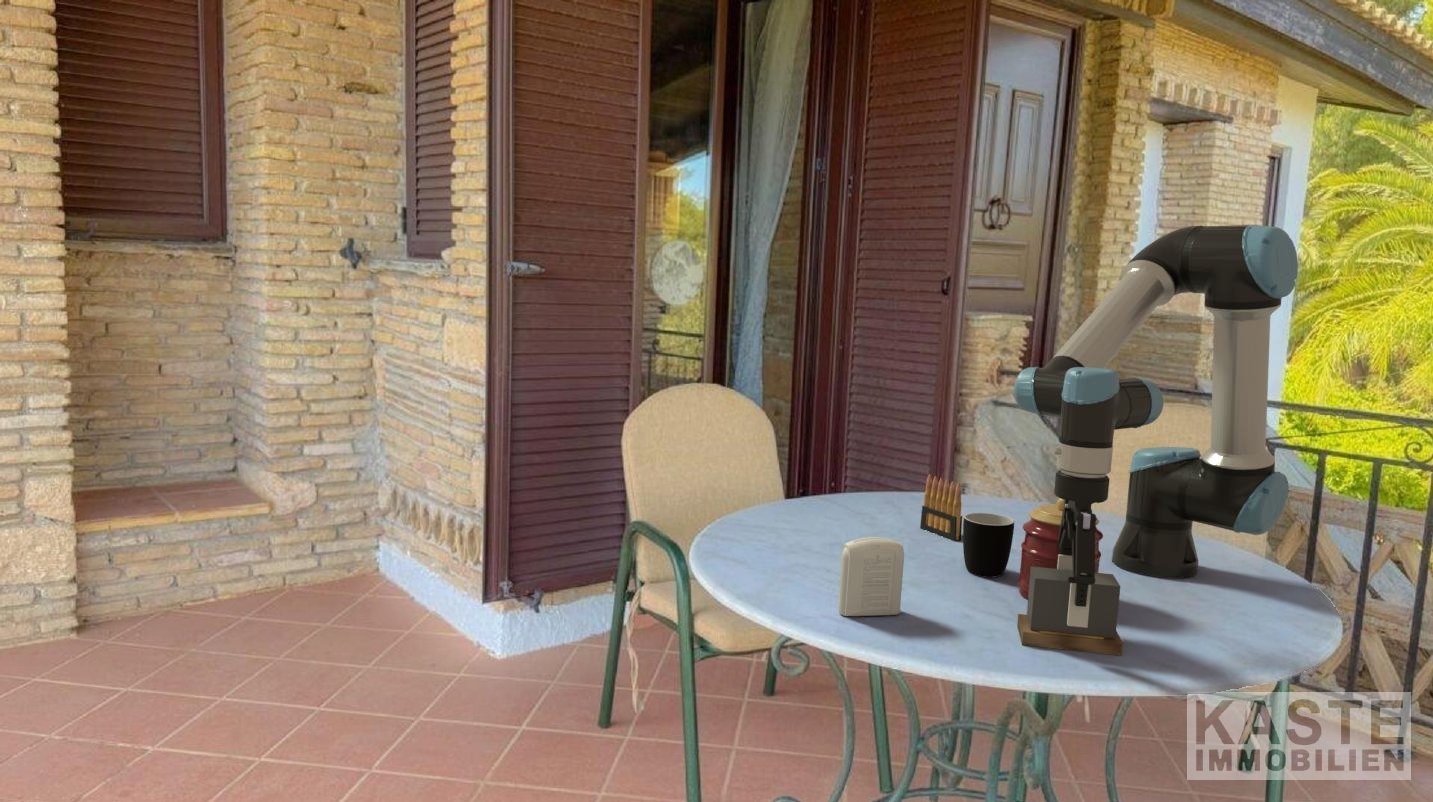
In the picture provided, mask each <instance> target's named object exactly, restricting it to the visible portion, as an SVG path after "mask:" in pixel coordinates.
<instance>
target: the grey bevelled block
mask: <svg viewBox="0 0 1433 802" xmlns="http://www.w3.org/2000/svg"><path fill="white" fill-rule="evenodd" d="M1081 575H1087V574H1085V573H1081ZM1069 577H1073V570H1063V569H1052V568H1041V567H1031V570H1030V582H1029V594H1028V599H1027V606H1026V615H1027V619H1028V623H1029V626H1030V630H1037V631H1046V632H1056V633H1065V634H1074V635H1084V636H1093V637H1103V638H1112V639H1115V637H1116V631H1117V627H1118V626H1117V625H1118V615H1119V606H1120V596H1121V585H1120V584H1119V581H1118V580H1117V578H1116V576H1115V575H1114V574H1112V573H1106V572H1105V573H1104V572H1098V573H1095V583H1094V584H1092V585H1091V594H1090V605H1089V615H1088V626H1087V628H1085V627H1076V626H1068V625H1067V618H1068V607H1069V595H1070V584H1071V583H1068V578H1069Z"/></svg>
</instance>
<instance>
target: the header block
mask: <svg viewBox="0 0 1433 802" xmlns="http://www.w3.org/2000/svg"><path fill="white" fill-rule="evenodd" d="M1017 630H1018V634H1019V638H1020V642H1021V645H1022V646H1029V647H1031V646H1032V647H1039V648H1047V649H1056V650H1057V649H1059V650H1066V651H1075V652H1076V651H1077V652H1085V653H1094V654H1096V653H1097V654H1105V655H1113V656H1122V655H1123V654H1122V653H1123V643H1124V642H1123V640H1122V639H1121V637H1120V635H1119V632H1118V631H1117V630H1116V637H1115V639H1112V638H1103V637H1093V636H1084V635H1074V634H1065V633H1056V632H1046V631H1037V630H1030V626H1029V623H1028V619H1027V614H1021V613H1017Z"/></svg>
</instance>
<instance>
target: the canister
mask: <svg viewBox="0 0 1433 802" xmlns="http://www.w3.org/2000/svg"><path fill="white" fill-rule="evenodd" d="M1063 508H1064V499H1061V498H1059V497H1058V499H1057V501H1056V504H1055V503H1051V504H1050V503H1049V504H1041V505H1039V506H1037V508H1034V509H1032V510H1030V511H1029V512H1028V516H1029V517H1030V520H1027V521H1026V522H1024V524H1022V530H1023V531H1024V532H1025V535H1024V540H1023V541H1022V542H1021V545H1020V547H1021V555H1020V556H1021V558H1020V568H1019V569H1020V570H1019V576H1018V581H1017V586H1018V592H1019V594H1020V596H1022V597H1023V598H1025V599H1026V600H1028V594H1029V582H1030V570H1031V567H1041V568H1052V569H1057V565H1058V554H1062V553H1059V551H1058V548H1059V546H1058V544H1057V541H1058V536H1059V530H1060V525H1061V519H1062V513H1063ZM1099 523H1100V520H1099V519H1098V518H1097V520H1096V526H1095V573H1100V572H1099V571H1100V569H1099V568H1100V560H1101V557H1102V553H1101V551H1100V549H1099V548H1100V546H1099V545H1100V544H1099V543H1100V541H1101V540H1102V539H1103V538H1104V534H1103V533H1102V531H1101V530H1099V529H1098V528H1097V525H1099Z"/></svg>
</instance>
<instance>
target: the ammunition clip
mask: <svg viewBox="0 0 1433 802" xmlns="http://www.w3.org/2000/svg"><path fill="white" fill-rule="evenodd" d="M955 485H956V486H955ZM919 529H920V530H922V531H923V530H924V531H925V530H927V531H926V532H928V531H929V532H928V533H931V534H933V533H935V534H934V535H936V534H937V536H939V537H941V536H943V537H942V538H943V539H947V540H949V539H950V541H953V542H957V541H962V531H963V515H962V488H961V483H960V482H958V483H957V484H955V481H953V480H952V481H951V483H949V480H948V479H947V478H946V480H945V482H944V480H943V478H942V477H940V479H939V481H938V477H937V475H935V476H934V478H933V480H932V475H931V473H929V474H928V476H927V479H926V486H925V491H924V498H923V505H922V506H921V517H920V525H919Z"/></svg>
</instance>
